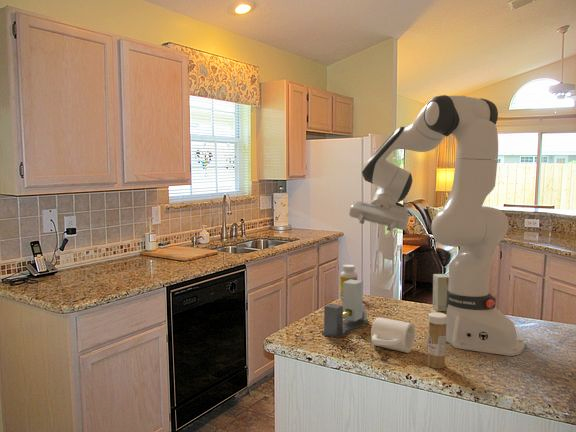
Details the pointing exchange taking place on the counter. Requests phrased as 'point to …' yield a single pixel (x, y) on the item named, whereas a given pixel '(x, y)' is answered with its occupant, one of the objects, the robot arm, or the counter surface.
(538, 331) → the counter surface
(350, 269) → the supplement bottle
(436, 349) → the sprinkles bottle
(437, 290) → the skincare box
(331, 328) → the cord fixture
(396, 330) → the mug
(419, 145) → the robot arm
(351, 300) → the box sleeve
